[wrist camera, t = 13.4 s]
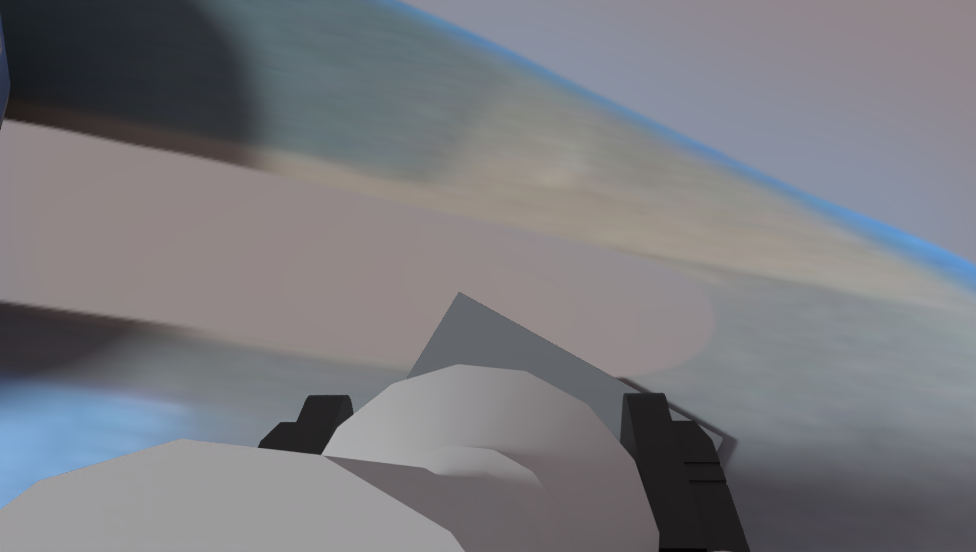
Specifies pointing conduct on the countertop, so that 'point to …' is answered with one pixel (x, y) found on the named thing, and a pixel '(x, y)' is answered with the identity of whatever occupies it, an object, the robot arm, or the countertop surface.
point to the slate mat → (524, 359)
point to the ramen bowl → (3, 76)
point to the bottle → (367, 483)
